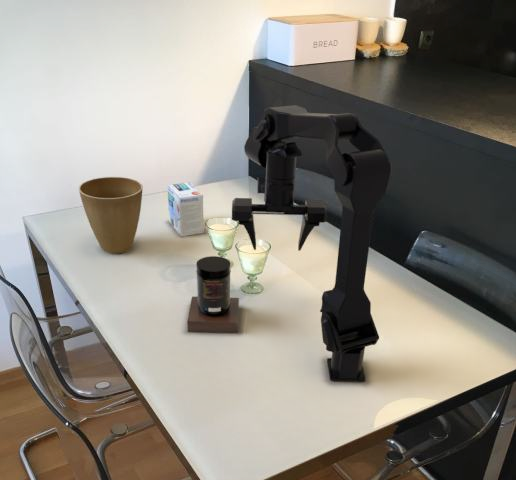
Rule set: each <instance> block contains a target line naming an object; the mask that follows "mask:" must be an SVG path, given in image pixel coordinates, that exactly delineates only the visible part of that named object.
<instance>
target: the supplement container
mask: <svg viewBox="0 0 516 480" xmlns="http://www.w3.org/2000/svg"><path fill="white" fill-rule="evenodd" d="M195 265H196V271H195V272H196V289H197V290H196V291H197V292H196V293H197V294H196V295H197V297H198V309H199V311H200V312H201V313H202V314H204V315H207V316H221V315H224V314H226V313H227V312H228V311H229V309H230V298H231V268H232V267H231V261H230V260H229V259H227V258H225V257H223V256H214V255H212V256H211V255H210V256H205V257H202V258H200V259H198V260H196V264H195Z"/></svg>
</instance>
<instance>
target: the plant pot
mask: <svg viewBox="0 0 516 480" xmlns="http://www.w3.org/2000/svg"><path fill="white" fill-rule="evenodd" d="M143 188H144V186H143V184H142V183H141V182H140V181H138V180H137V179H134V178H129V177H124V176H123V177H122V176H103V177H96V178H95V177H94V178H91V179H89V180H88V179H87V180H85V181H83V182H82V183H81V184H79V186H78V192H79V196H80V199H81V203H82V206H83V210H84V212H85V215H86V219H87V221H88V223H89V225H90V228H91V230H92V233H93V234H94V237H95V240H96V241H97V242H98V245H99V246H100V248H101V250H102V251H103V252H105V253H106V254H107V253H108V254H113V255H119V254H120V255H121V254H124V253H127V252H129V251H131V249H132V248H133V244H134V241H135V238H136V233H137V232H138V231H137V230H138V226H139V221H140V217H141V216H140V215H141V210H142V199H143Z"/></svg>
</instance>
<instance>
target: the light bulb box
mask: <svg viewBox="0 0 516 480" xmlns="http://www.w3.org/2000/svg"><path fill="white" fill-rule="evenodd" d="M167 202H168V203H167V204H168V222H169V223H170V224H171V226H172V227H173V229H174V230H175V231H176V233H178V235H179V236H180V237H186V236H194V235H199V234H204V233H205V228H204V224H205V223H204V194H203V193H202V192H201V191H200V190H199V189H198V188H197V187H195V185H194V184H193V183H192V182H188V181H187V182H182V183H181V182H180V183H173V184H167Z"/></svg>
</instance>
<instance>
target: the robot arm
mask: <svg viewBox="0 0 516 480" xmlns="http://www.w3.org/2000/svg"><path fill="white" fill-rule="evenodd" d="M263 113H264V114H263V115H262V116H261V118H260V120H259V122H258V124H257V126H255V127H254V126H253V133H251V134H250V135H249V136H248V137H247V139H246V141H245V143H244V146H243V147H244V154H245V155H246V158H248V159H249V160H251V161H253V162H254V163H256V164H257V165H259V166H260V167H262V168H264V169H265V177H257V187H256V189H257V190H256V193H257V194H264V195H263V197H264V199H263V202H264V203H253V199H252V197H235V198H234V199H232V203H231V220H232V221H233V222H237V223H238V225H240V226H243V227H244V229H245V231H246V233H247V234H248V237H249V239H250V243H251V245H252V249H253V250H254V251H256V250H257V237H256V229H255V220H254V215H281V216H283V215H284V216H285V215H286V216H302V219H301V226H300V231H299V237H298V241H297V242H298V243H297V250H298V251H299V252H300V251H301V250H302V249H303V247H304V245H305V242H306V240H307V238H308V237H309V235H310V234H311V232H312V231H313V229H314V228H315V227H320V224H321V223H323V224H324V223H326V222H327V220H328V219H327V218H328V208H327V206H326V205H327V204H326V202H325V201H324V200H323V199H305V202H304V204H295V203H294V202H295V191H296V190H295V187H296V173H297V172H296V171H297V158H299V157H302V156H303V152H302V149H300V148H299V147H298V145H297V142H295V141H291V142H287V141H284V140H293V139H299V138H305V139H307V138H308V139H316V140H317V139H318V140H324V142H325V143H326V156H325V163H326V165H327V166H328V169H329V171H330V173H331V175H332V176H333V179H334V181H333V182H334V183H333V184H334V186H333V188H334V189H333V190H334V192H335V194H336V196H337V198H338V200H339V202H340V204H341V207H342V210H341V221H340V229H339V230H340V231H339V238H338V239H339V240H338V241H339V242H338V250H337V262H336V271H335V272H336V273H335V281H334V286H333V288H332V289H330V290H325V291H323V293H322V295H321V307H320V310H319V312H320V313H321V317H320V323H321V327H320V328H321V335H322V343H323V344H324V345H325V350H326V351H327V352H331V357H329V358H328V357H327V359H326V364H327V365H326V366H327V371H328V377H329V380H330V381H333V382H359V383H360V382H366V374H365V370H364V366H363V363H364V355H365V350H366V347H369V346H375V345H377V343H378V341H379V339H380V335H379V332H378V330H377V327H376V324H375V321H374V318H373V315H372V313H371V312H372V311H371V310H372V303H371V300H370V299H369V297H368V295H367V293H366V291H365V281H366V274H367V266H368V258H369V251H370V244H371V243H370V242H371V235H372V227H373V219H374V212H375V209H376V207H377V206H378V204H379V203H380V202H381V200H382V199H383V198H384V196H385V195H386V193H387V190H388V186H389V182H390V178H391V174H392V162H391V161H390V158H389V156H388V154H387V153H386V151H385V149H384V147H383V145H382V143H381V141H380V140H379V139H378V138H377V137H375V135H373V134H372V133H371V132H369V131H368V130H367V129H366V128H365V127H363V126H362V123H361V121H360V120H359V118H358V116H357V115H356V114H353V113H351V112H347V113H346V112H345V113H320V112H319V113H318V112H317V113H316V112H315V113H314V112H308V111H307V109H306V108H305V107H303V106H299V105H284V106H274V107H273V106H272V107H267V108H265V109H264V111H263ZM340 141H349V143H350V144H351V145H352V146H354V148H356V149H357V150H358V151H351V152H350V151H349V152H344V153H342V152H341V149H340V147H339V142H340Z"/></svg>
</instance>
